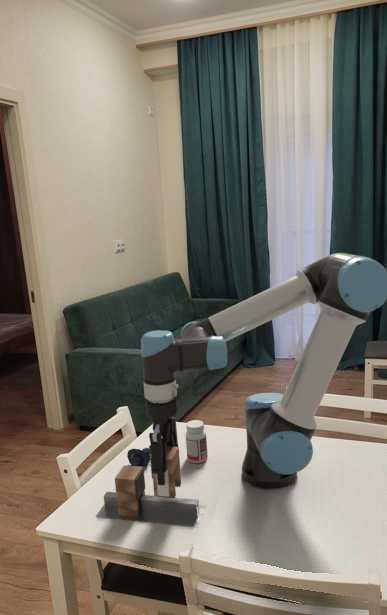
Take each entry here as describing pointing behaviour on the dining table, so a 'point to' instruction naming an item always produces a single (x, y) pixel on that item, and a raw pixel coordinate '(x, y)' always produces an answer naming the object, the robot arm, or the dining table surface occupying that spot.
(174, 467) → the walnut finger
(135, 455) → the toy
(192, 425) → the pill bottle
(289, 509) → the dining table surface
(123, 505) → the wooden block
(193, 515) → the rail
